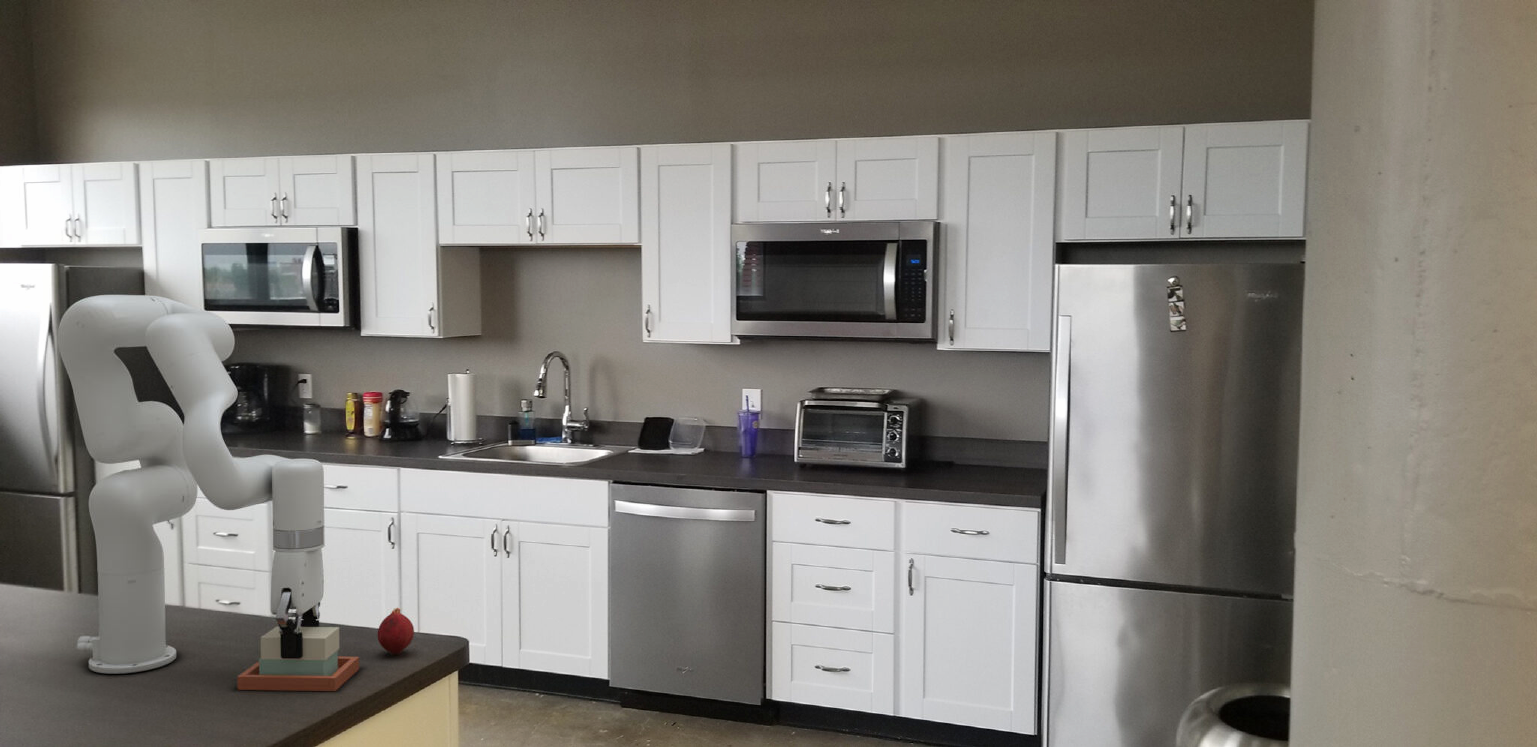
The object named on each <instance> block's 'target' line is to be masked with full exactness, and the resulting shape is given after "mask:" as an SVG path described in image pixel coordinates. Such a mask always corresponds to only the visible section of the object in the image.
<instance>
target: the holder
mask: <svg viewBox="0 0 1537 747" xmlns="http://www.w3.org/2000/svg"><path fill="white" fill-rule="evenodd" d="M359 670H360V657H359V656H339V655H338V670H337V671H336V672H335V673H334V674H333V675H331V676H307V675H259V660H258V661H257V662H256V663H254V664H252V665H251V666H250V667H248V668H247V669H246V670H244V671H243V672H242V673H240V674H239V675H238V676H237V677H236V678H237V681H236V682H237V686H236V687H237V690H238V691H289V692H290V691H293V692H294V691H299V692H302V691H303V692H336V691H337V690H339V688H340V687H342V685H344V684H345V683H346V682H347V681H348V680H349V679H350V678H351V677H352V676H353V675H355V674H356V673H357V672H358V671H359Z"/></svg>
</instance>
